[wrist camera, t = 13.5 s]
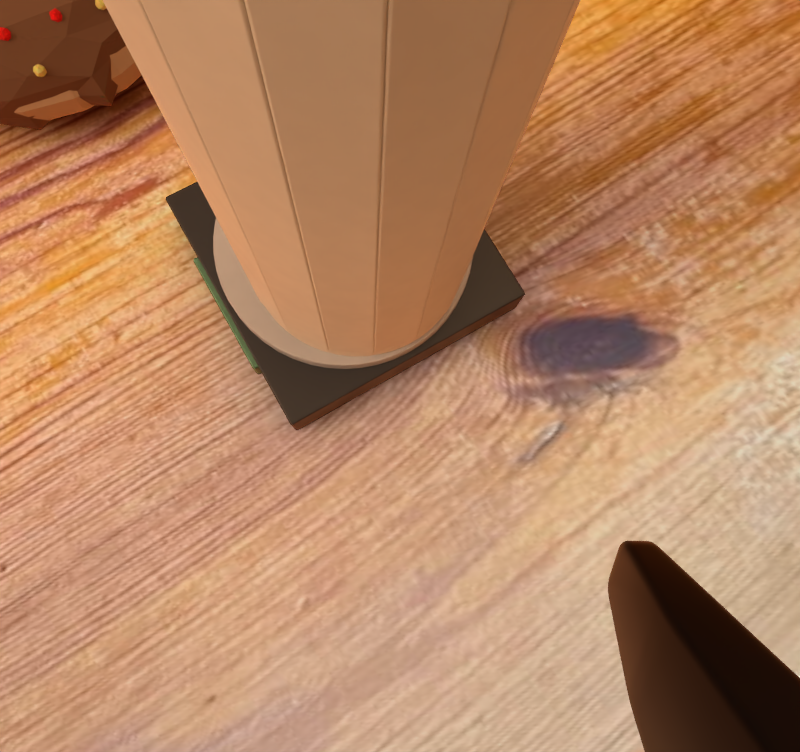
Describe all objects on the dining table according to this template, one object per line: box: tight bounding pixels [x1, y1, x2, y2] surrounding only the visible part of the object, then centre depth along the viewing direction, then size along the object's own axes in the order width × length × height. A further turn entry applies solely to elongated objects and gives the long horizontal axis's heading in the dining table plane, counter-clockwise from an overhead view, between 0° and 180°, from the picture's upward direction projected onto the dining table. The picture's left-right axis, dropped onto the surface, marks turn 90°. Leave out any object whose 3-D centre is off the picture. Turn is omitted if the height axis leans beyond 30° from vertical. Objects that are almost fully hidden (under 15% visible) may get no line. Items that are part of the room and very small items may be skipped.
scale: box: [166, 182, 525, 430], centre depth 23 cm, size 9×9×2 cm
